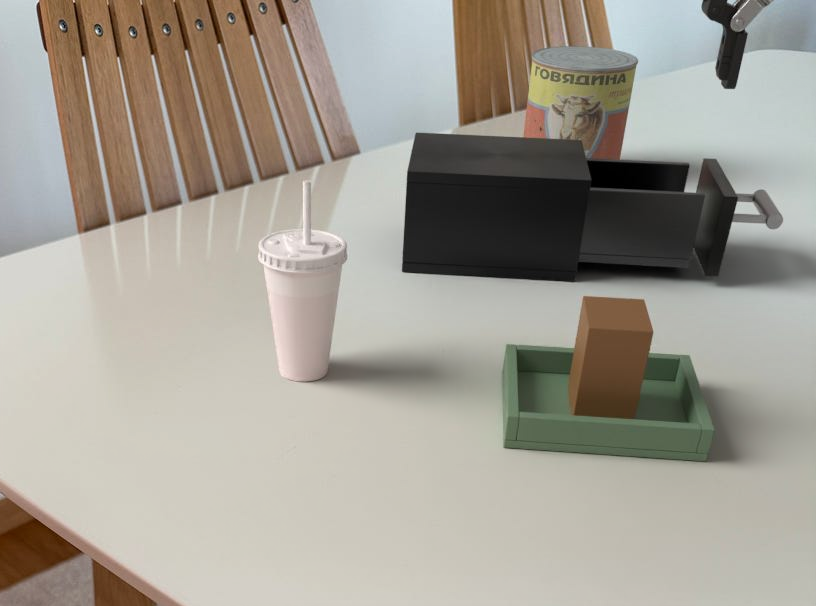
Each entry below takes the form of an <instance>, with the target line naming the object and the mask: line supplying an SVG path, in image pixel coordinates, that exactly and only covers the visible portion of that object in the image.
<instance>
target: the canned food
mask: <svg viewBox="0 0 816 606" xmlns="http://www.w3.org/2000/svg"><path fill="white" fill-rule="evenodd" d="M531 59H532V60H531V61H532V62H531V68H530V77H529V85H528V86H529V87H528V94H527V95H528V96H527V101H526V111H525V118H524V119H525V120H524V128H523V134H522V135H523V137H526V138H548V139H570V140H582V143H583V147H584V151H585V155H586V158H598V159H619V160H621V156H622V149H623V144H624V138H625V132H626V128H627V121H628V116H629V110H630V104H631V99H632V92H633V87H634V81H635V76H636V70H637V66H638V64H639V59H638V57H637V56H636V55H633V54H631V53H629V52H626V51H621V50H617V49H612V48H605V47H597V46H584V45H583V46H582V45H581V46H580V45H565V46H564V45H562V46H561V45H559V46H551V47H544V48H539V49H537V50H535V51H533V53H532V54H531Z"/></svg>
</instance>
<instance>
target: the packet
mask: <svg viewBox="0 0 816 606" xmlns="http://www.w3.org/2000/svg"><path fill="white" fill-rule="evenodd" d="M653 338H654V328H653V325H652V321H651V319H650V315H649V312H648V308H647V305H646V301H645V298H643V299H642V298H624V297H611V296H610V297H607V296H590V295H583V296H582V300H581V307H580V314H579V319H578V324H577V331H576V337H575V342H574V343H575V344H574V346H573V348H574V353H573V359H572V365H571V371H570V377H569V383H568V395H569V403H570V411H571V415H576V416H591V417H606V418H621V419H635V415H636V410H637V406H638V401H639V396H640V392H641V387H642V383H643V378H644V374H645V369H646V364H647V360H648V355H649V353H650V350H651V345H652V341H653Z"/></svg>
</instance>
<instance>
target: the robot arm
mask: <svg viewBox="0 0 816 606" xmlns="http://www.w3.org/2000/svg"><path fill="white" fill-rule="evenodd" d="M772 2H774V0H735V1H734V2H733V3H732V4H731V3H729V2H728V0H702V2H701V12H702V13H703V14H704V15H705V16H706V18H707V19H708V20H710V21H712V22H715V23H717V24H720V25H721V26H722V34H721V39H720V44H719V48H718V53H717V57H716V62H715V67H714V68H715V75H716V78H717V79H718V80H719V81H720V82H721V83H720V85H721V86H722V87H723V89H724V90H736V87H737V86H738V85H737V84H738V80H739V75H740V71H741V66H742V62H743V58H744V53H745V49H746V45H747V40H748V36H749V33H748V32H747V31H746V28H747V27H748V26H749V25H750V24H751V23H752V21H754V20H755V18H756V17H757V16H758V15H759V14H760V13H761V12H762V11H763V10H764V8H766V7H768V6H770V5H771V4H772Z"/></svg>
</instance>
